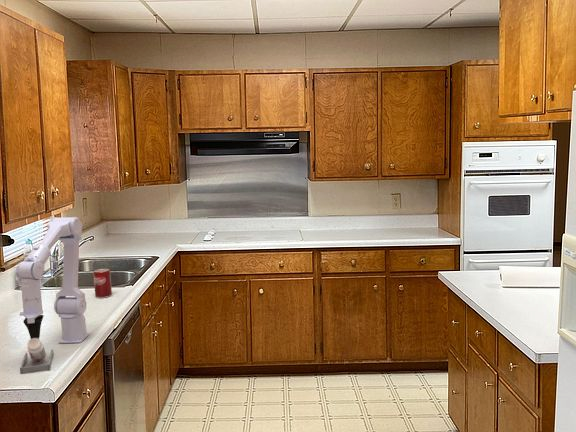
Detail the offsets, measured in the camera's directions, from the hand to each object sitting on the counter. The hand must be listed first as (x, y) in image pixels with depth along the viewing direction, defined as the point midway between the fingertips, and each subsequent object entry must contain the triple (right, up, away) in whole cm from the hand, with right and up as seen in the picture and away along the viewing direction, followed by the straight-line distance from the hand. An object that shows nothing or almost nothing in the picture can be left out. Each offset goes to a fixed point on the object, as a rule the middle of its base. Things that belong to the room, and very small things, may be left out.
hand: (35, 339), depth 212 cm
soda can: (-1, +4, +83) cm, 83 cm away
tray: (+1, -8, -1) cm, 8 cm away
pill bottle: (0, -6, +3) cm, 6 cm away
